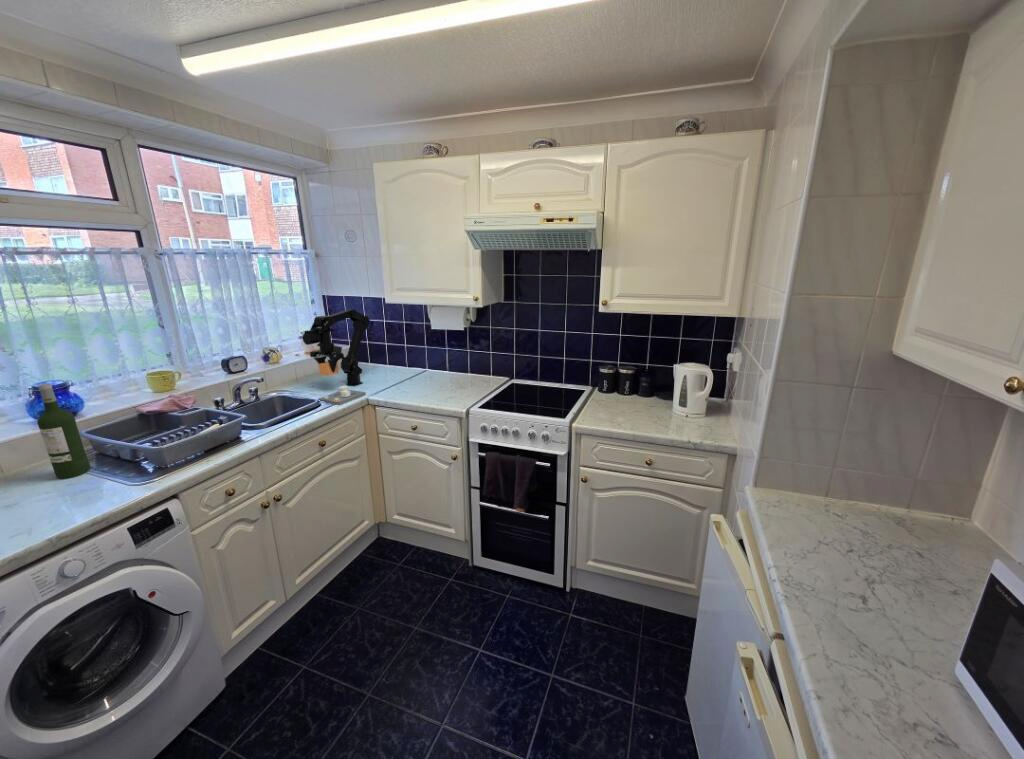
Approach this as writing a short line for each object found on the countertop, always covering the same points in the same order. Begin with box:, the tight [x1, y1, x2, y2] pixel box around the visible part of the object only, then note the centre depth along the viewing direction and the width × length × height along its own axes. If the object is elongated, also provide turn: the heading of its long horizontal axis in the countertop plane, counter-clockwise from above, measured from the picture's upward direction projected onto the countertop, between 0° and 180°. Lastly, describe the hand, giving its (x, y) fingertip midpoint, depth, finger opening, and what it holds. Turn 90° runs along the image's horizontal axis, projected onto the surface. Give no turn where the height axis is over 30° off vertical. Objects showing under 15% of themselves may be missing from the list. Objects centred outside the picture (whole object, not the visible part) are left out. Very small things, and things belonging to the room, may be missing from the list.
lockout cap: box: [317, 361, 339, 376], centre depth 214 cm, size 6×6×6 cm
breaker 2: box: [341, 390, 351, 397], centre depth 203 cm, size 3×3×2 cm
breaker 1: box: [338, 385, 349, 392], centre depth 210 cm, size 3×3×2 cm
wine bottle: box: [36, 383, 91, 480], centre depth 130 cm, size 8×8×30 cm
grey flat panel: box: [317, 389, 367, 406], centre depth 206 cm, size 17×14×2 cm
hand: (329, 371), depth 214 cm, fingers closed on lockout cap, 6 cm apart
